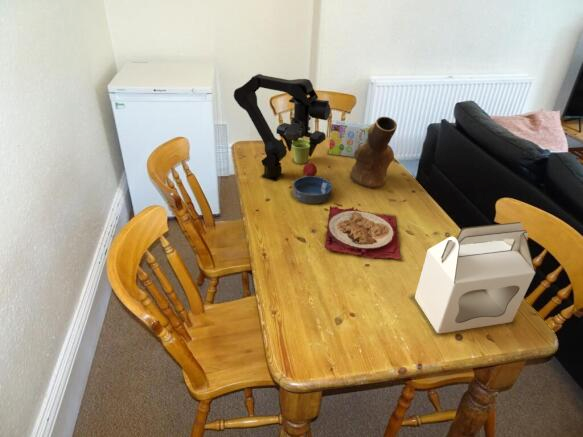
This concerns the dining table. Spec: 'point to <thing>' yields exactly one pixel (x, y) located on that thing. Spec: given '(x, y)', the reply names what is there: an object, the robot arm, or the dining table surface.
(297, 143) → the plant pot
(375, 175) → the ceramic vessel
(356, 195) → the dining table surface
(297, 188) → the bowl
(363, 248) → the plate with food
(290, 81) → the robot arm
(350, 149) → the snack box
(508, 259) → the gable box
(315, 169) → the onion
